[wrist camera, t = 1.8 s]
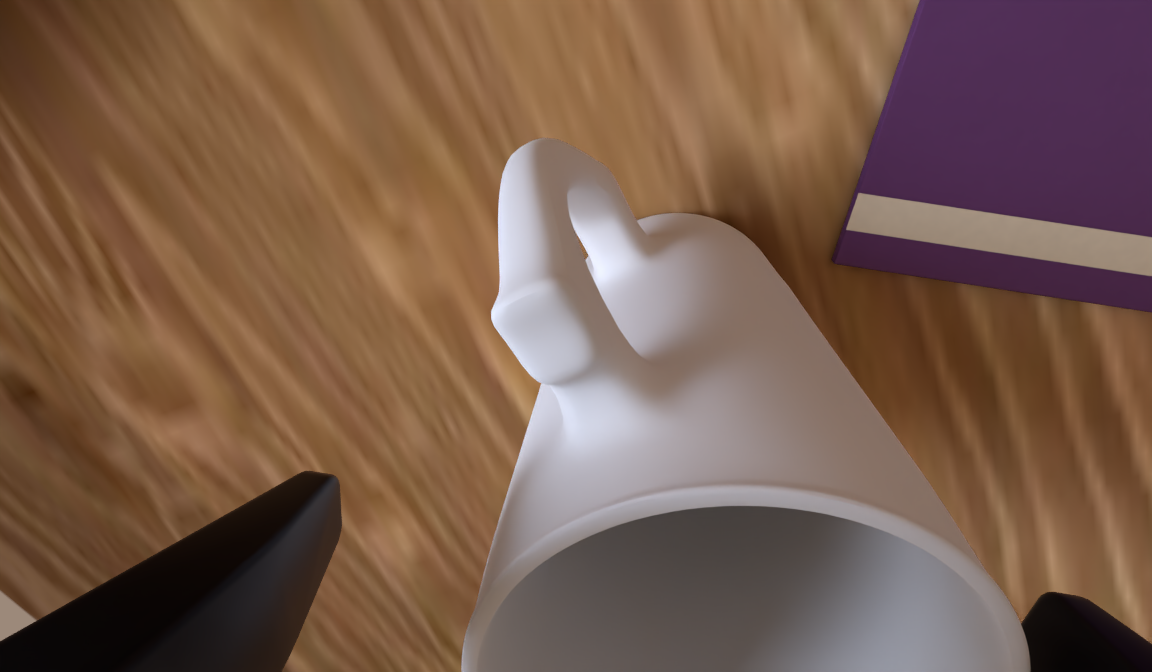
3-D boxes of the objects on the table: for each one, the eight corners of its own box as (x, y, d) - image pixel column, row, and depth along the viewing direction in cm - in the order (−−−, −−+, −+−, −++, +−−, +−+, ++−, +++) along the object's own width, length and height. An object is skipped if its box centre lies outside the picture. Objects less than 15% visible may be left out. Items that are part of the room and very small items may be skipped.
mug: (818, 361, 18) (1081, 808, 8) (620, 436, 20) (608, 881, 10) (688, 36, 15) (836, 21, 4) (462, 162, 17) (156, 379, 6)
